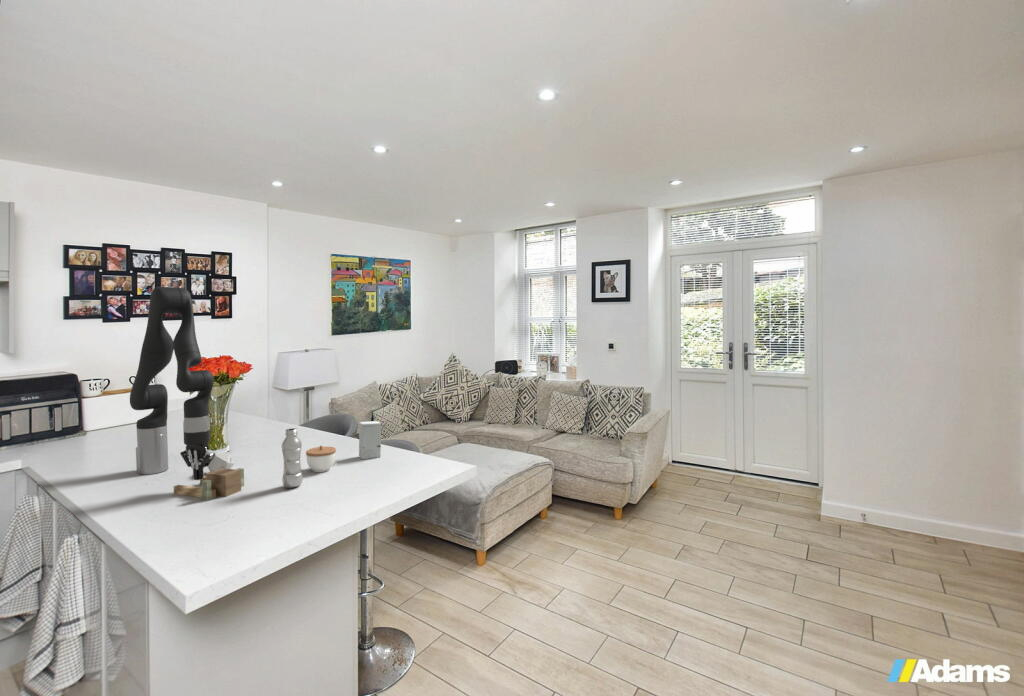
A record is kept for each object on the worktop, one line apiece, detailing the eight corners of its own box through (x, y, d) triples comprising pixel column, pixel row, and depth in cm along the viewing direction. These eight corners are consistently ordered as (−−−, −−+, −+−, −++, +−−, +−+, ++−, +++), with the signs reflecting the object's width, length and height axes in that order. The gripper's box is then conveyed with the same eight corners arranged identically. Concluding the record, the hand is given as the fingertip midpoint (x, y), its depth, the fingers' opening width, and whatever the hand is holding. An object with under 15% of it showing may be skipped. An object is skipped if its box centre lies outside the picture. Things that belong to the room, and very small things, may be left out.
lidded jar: (316, 476, 175) (315, 451, 175) (301, 470, 182) (300, 446, 181) (341, 468, 184) (341, 445, 183) (326, 464, 190) (326, 441, 190)
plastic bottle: (282, 491, 159) (281, 432, 158) (282, 485, 165) (280, 428, 164) (303, 488, 162) (302, 430, 161) (302, 482, 168) (300, 426, 167)
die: (213, 480, 172) (231, 457, 175) (196, 467, 174) (214, 444, 176) (226, 481, 180) (243, 459, 183) (209, 469, 181) (226, 447, 184)
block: (206, 494, 156) (206, 473, 156) (222, 488, 162) (221, 468, 161) (226, 496, 154) (225, 475, 153) (241, 490, 160) (240, 470, 159)
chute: (169, 495, 155) (168, 477, 155) (208, 481, 169) (207, 465, 168) (207, 500, 151) (206, 481, 150) (244, 485, 164) (243, 468, 164)
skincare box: (361, 459, 196) (360, 424, 195) (358, 456, 201) (358, 421, 200) (381, 457, 200) (381, 422, 199) (378, 453, 205) (378, 419, 204)
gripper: (171, 430, 158) (172, 481, 159) (202, 432, 154) (203, 484, 155) (191, 425, 165) (193, 474, 166) (221, 428, 162) (223, 477, 163)
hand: (198, 479), depth 161 cm, fingers closed
